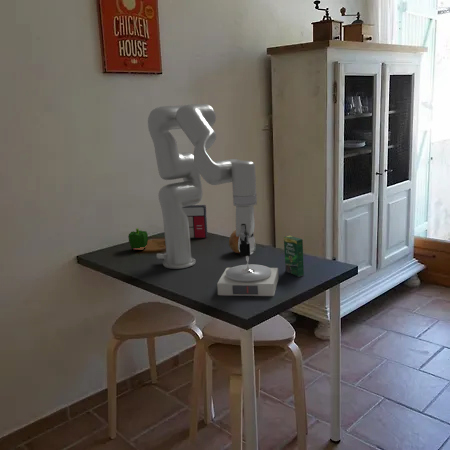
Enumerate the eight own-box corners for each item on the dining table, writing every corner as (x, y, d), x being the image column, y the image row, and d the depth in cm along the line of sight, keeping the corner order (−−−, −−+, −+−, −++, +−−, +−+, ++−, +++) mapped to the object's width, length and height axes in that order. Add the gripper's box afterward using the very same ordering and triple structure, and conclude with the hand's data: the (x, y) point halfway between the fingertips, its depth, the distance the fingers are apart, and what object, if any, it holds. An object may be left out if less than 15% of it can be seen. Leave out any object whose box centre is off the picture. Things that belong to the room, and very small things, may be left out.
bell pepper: (133, 247, 229) (130, 225, 226) (151, 246, 227) (148, 224, 225) (127, 252, 221) (124, 230, 218) (145, 252, 219) (143, 229, 217)
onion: (258, 252, 209) (257, 229, 207) (238, 258, 204) (237, 233, 201) (244, 248, 217) (243, 225, 214) (224, 253, 211) (223, 229, 209)
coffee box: (284, 271, 185) (283, 236, 182) (290, 269, 186) (289, 234, 183) (297, 277, 178) (296, 240, 175) (304, 275, 179) (303, 239, 176)
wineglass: (251, 275, 166) (249, 239, 163) (236, 272, 169) (234, 237, 166) (259, 269, 171) (258, 234, 168) (244, 267, 174) (243, 233, 171)
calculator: (182, 239, 238) (180, 207, 234) (185, 236, 242) (182, 205, 238) (206, 238, 236) (204, 206, 232) (208, 236, 240) (205, 204, 236)
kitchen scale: (217, 295, 165) (216, 279, 164) (227, 278, 181) (226, 263, 179) (273, 296, 161) (273, 280, 160) (278, 278, 177) (277, 263, 176)
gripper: (237, 195, 173) (240, 244, 177) (228, 205, 157) (231, 259, 161) (260, 194, 172) (262, 244, 176) (252, 205, 155) (255, 259, 159)
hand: (247, 251), depth 168 cm, fingers open, 9 cm apart
